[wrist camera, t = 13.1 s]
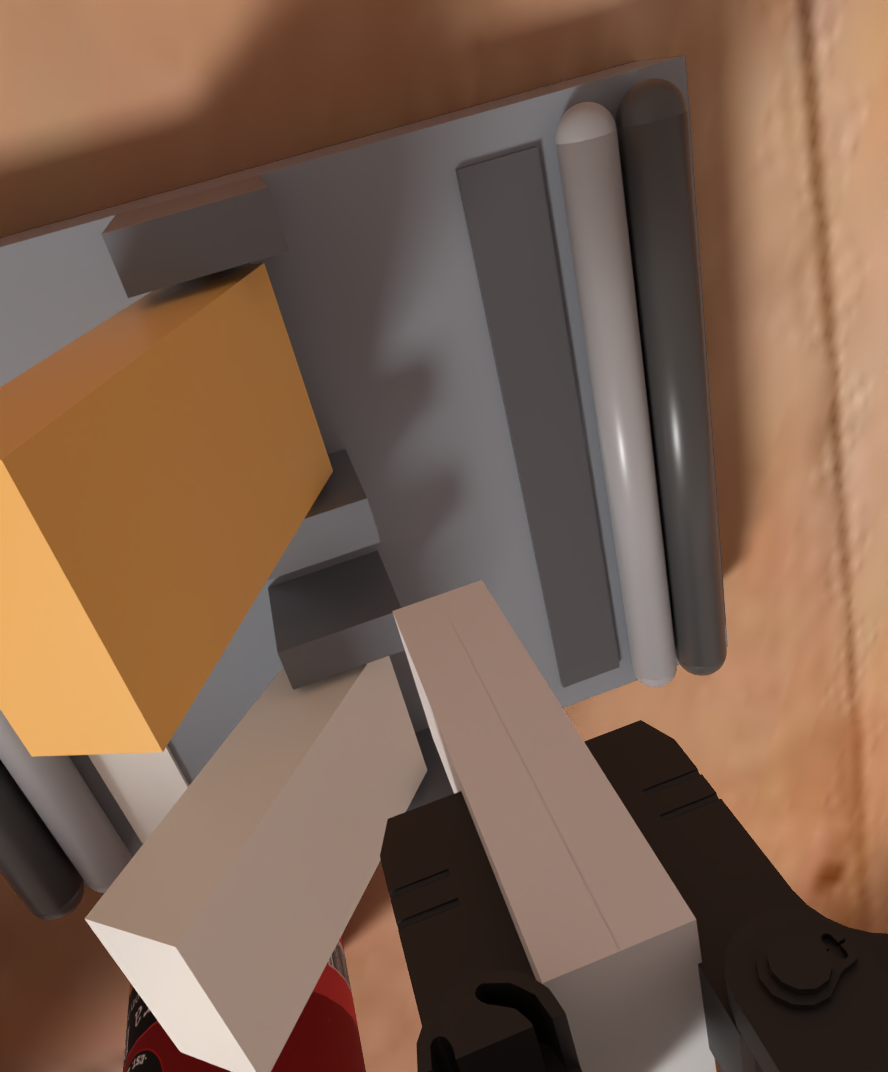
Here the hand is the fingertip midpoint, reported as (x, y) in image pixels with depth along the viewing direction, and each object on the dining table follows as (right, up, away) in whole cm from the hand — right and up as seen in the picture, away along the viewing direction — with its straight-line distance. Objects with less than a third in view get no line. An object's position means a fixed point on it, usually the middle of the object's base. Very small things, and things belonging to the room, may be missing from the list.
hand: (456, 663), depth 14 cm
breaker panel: (-4, +3, +11) cm, 12 cm away
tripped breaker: (-5, +6, +5) cm, 9 cm away
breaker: (-2, -3, +10) cm, 11 cm away
